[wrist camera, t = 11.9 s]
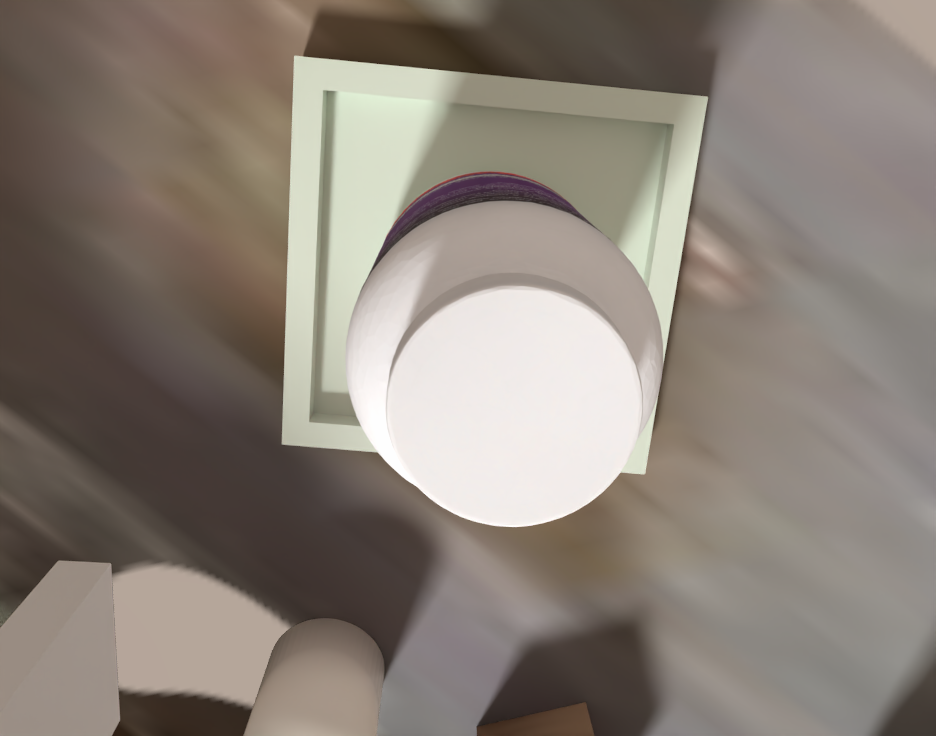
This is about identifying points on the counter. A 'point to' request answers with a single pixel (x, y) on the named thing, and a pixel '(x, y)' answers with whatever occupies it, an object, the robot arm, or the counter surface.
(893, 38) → the counter surface
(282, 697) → the white cylinder
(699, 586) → the counter surface
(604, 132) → the tray
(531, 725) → the wooden cube
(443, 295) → the pill bottle
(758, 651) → the counter surface
